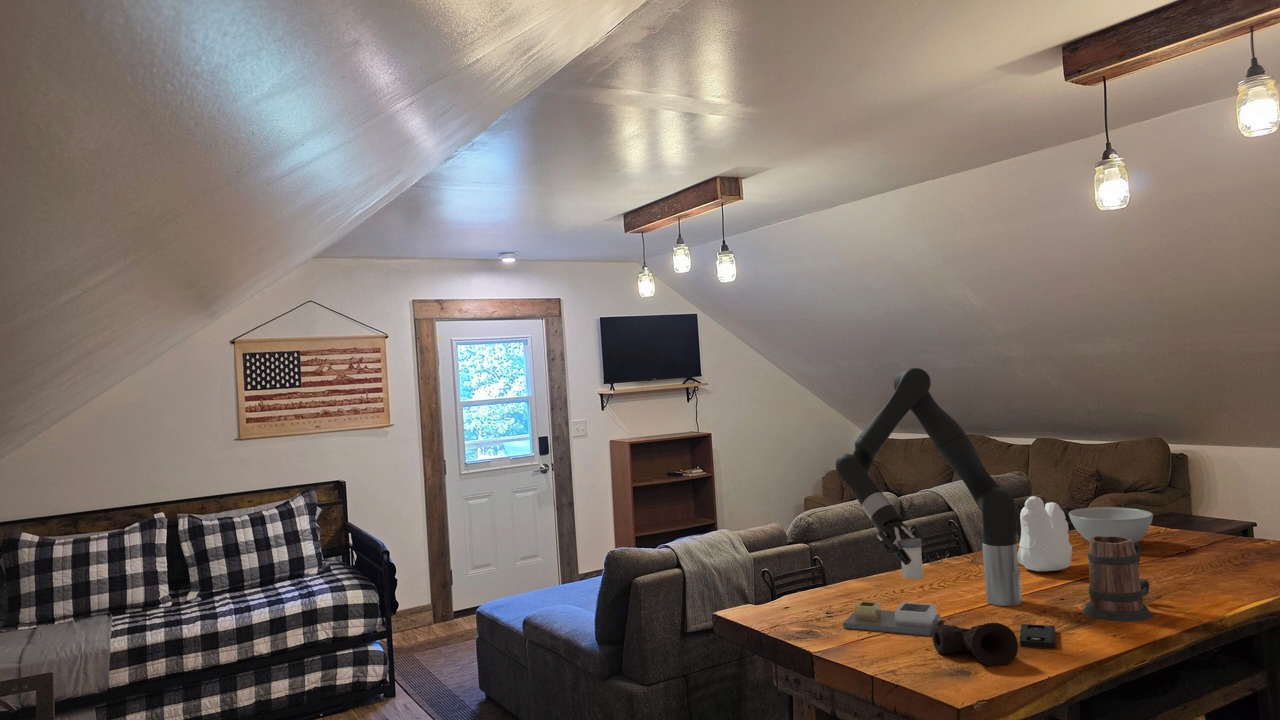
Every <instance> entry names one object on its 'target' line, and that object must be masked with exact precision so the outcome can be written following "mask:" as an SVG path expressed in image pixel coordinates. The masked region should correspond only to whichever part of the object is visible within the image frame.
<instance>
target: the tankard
mask: <svg viewBox="0 0 1280 720" xmlns="http://www.w3.org/2000/svg"><path fill="white" fill-rule="evenodd" d="M1141 554H1142V553H1141V545H1140V544H1139V543H1138V541H1137V542H1133V541H1132V540H1131V539H1129V538H1125V537H1116V536H1111V537H1102V536H1095V537H1091V538H1090V541H1089V549H1088V552H1087V560H1088V570H1089V571H1088V572H1089V573H1088V574H1089V577H1088V578H1089V586H1088V595H1089V601H1088V602H1087V603H1086V605H1085V606H1084V608H1082V610H1081V612H1082V613H1083V614H1084V615H1086V616H1088V617H1091V618H1094V619H1098V620H1102V621H1110V622H1123V623H1124V622H1125V623H1132V622H1134V623H1135V622H1142V621H1148V620H1150V619H1152V618H1153V617H1154V615H1153V613H1152V612H1151V611H1150V609H1149V608H1148V606H1147V605H1145V604H1144V601H1143V598H1144V597H1146V596H1147V595H1148V593H1149V592H1150V582H1149V581H1148V580H1147V579H1142V578H1140V571H1139V567H1140V566H1139V565H1140V560H1141V559H1140V558H1141Z"/></svg>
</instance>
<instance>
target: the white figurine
mask: <svg viewBox="0 0 1280 720" xmlns="http://www.w3.org/2000/svg"><path fill="white" fill-rule="evenodd" d="M1019 520H1020V530H1021V531H1020V541H1019V544H1018V545H1019V548H1018V549H1017V559H1018V564H1020V565H1023V566H1024V567H1025V569H1028V570H1030V571H1035V572H1052V571H1060V570H1061V571H1062V570H1065V569H1068V568H1069V567H1070V565H1071V564H1072V563H1071V562H1072V554H1073V551H1072V550H1073V546H1072V544H1071V543H1070V542H1069V541H1070V537H1069V535H1070V534H1069V533H1068V532H1069V523H1068V521H1067V520H1066V515H1065V512H1064V510H1063V509H1062V508H1061V507H1060V505H1059V504H1058V503H1056V502H1052V501H1051V502H1046V503H1045V504H1044V501H1043V499H1042V498H1040V497H1038V496H1035V495H1032V496H1029V497H1028V498H1027V499H1026V500H1025V502H1024V507H1022V509H1021V510H1020V516H1019Z"/></svg>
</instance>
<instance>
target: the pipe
mask: <svg viewBox="0 0 1280 720" xmlns="http://www.w3.org/2000/svg"><path fill="white" fill-rule="evenodd" d="M931 636H932V644H933V647H934V649H935V651H937V653H939V654H942V655H953V654H956V653H961V652H963V651H965V652H970V653H971V654H972V655H973V657H975V658H976V659H977V660H978V661H979V662H981V663H982V664H983V665H987V666H991V667H1002V666H1007V665H1009V664H1010V663H1012V661H1014V660H1015V658H1016V657H1017V654H1018V649H1019V645H1018V644H1019V643H1018V638H1017V635H1016V634H1015V632H1014V631H1013V630H1012V629H1011V628H1010V627H1009V626H1008V625H1005V624H1002V623H1000V622H986V623H984V624H983V623H982V624H978V625H976V626H975V625H974V626H971V628H964V627H958V626H957V625H950V624H942V625H937V627H935V628H933V633H932V634H931Z"/></svg>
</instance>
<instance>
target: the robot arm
mask: <svg viewBox="0 0 1280 720" xmlns="http://www.w3.org/2000/svg"><path fill="white" fill-rule="evenodd" d="M931 383H932V382H931V377H930V375H929V374H928V372H927V371H926V370H924V369H922V368H919V367H910V368H908V369H904V370H902V371H900V372H899V373H897V374H896V376H895V377H894V380H893V389H894V392H893V394H892V395H891V396H890V399H889V400H888V401H887V402H886V404H885V405H884V406H883V407H882V408H881V409H880V411H879V412H877V414H876V415H874V417H872V419H871V420H870V421H869V422H868V424H867V425H866V426H865V428H864V429H863V430H862V431H861V432H860V434H859V435H858V437H857V438H856V440H855V441H854V451H853V453H852V454H850V453H843V454H841V455H839V456H838V457H837V458H836V461H835V470H836V472H837V474H838V475H839V476H840V477H841V479H842V480H843V481H844V483H845V484H846V485H847V486H848V488H850V491H852V493H853V495H854V497H855V498H856V500H858V503H860V505H861V507H862V508H863V510H864V512H865V514H866V515H867V516H868V518H869V520H870V521H871V523H872V525H874V526H875V528H876V530H877V531H878V533H877V535H876V536H875V540H876V541H877V542H878V543H879V544H880V545H881V546H882V547H883V548H884V549H885V551H887V552H888V554H894V555H896V556H897V557H898V558H899V560H900V562H901V561H902V562H903V563H904V564H905V565H908V564H909V563H910V562H911V559H910V558H909V556H908V555H907V553H906V552H905V551H904V549H903V550H902V547H901V545H900V541H899V540H901V539H903V538H920V539H921V543H922V545H923V544H924V543H925V539H923V536H922V535H921V533H920V532H919V529H918V528H917V525H915V524H913V525H912V526H907V525H906V524H904V523H903V517H902V515H901V514H900V513H899V512H898V510H897V509H896V507H895V506H894V505H893V503H892V502H891V500H890V499H889V498H888V496H886V495H885V494H884V492H883V491H882V490H881V488H880V487H879V486H878V484H877V483H876V482H875V481H874V479H872V477H870V475H869V474H868V472H869V471H870V468H871V466H872V463H873V462H874V458H875V456H876V454H877V453H878V452H879V451H880V450H881V448H882V447H883V446H884V444H885V443H886V441H887V440H888V439H889V437H890V436H891V434H892V433H893V432H894V430H895V429H896V427H897V426H898V425H899V424H900V422H901V421H902V420H903V418H904V417H905V416H906V415H907V413H908V412H909V411H911V412H912V413H913V414H914V416H915V417H916V418H917V420H918V421H919V423H920V425H921V426H922V428H923V429H924V431H925V433H926V434H927V435H928V437H929V438H930V440H931V442H932V443H933V445H934V447H935V448H936V449H937V450H938V451H939V453H940V455H941V457H943V459H944V460H945V461H946V463H947V464H948V466H949V467H951V469H952V470H953V472H954V473H956V474H957V476H958V477H959V478H960V479H961V480H962V481H963V483H964V484H965V486H966V487H967V489H968V491H969V493H970V495H971V496H972V498H973V500H974V501H975V503H976V506H977V508H978V509H979V511H980V512H981V514H982V532H981V545H982V557H983V559H982V561H983V571H984V583H985V584H984V586H985V597H986V602H987V604H990V605H994V606H1002V607H1012V606H1020V605H1021V604H1022V600H1023V597H1022V585H1021V583H1022V582H1021V574H1020V573H1021V570H1020V567H1019V562H1018V559H1017V554H1018V549H1017V548H1018V547H1017V535H1018V521H1017V519H1018V518H1017V508H1016V501H1015V499H1014V497H1013V496H1012V495H1011V494H1010V493H1009V492H1008V491H1006V490H1005V489H1003V488H1002V487H1001V486H1000V485H999V484H998V483H997V482H996V481H995V480H994V478H993V477H992V476H991V474H990V473H989V472H988V471H987V469H986V468H985V466H984V464H983V462H982V460H981V458H980V455H979V452H977V451H978V450H976V448H975V445H974V443H972V440H971V439H970V438H969V436H968V434H967V433H966V432H965V431H964V429H963V428H962V427H961V426H960V425H959V423H958V422H957V421H956V420H955V419H954V418H953V417H952V416H950V415H949V414H948V413H947V412H946V411H945V410H944V409H942V408H941V407H940V405H938V403H937V402H936V401H935V399H934V398H933V396H932V394H931V393H930V389H931V386H932V385H931ZM921 553H922V562H925V561H926V560H927V559H928V555H927V553H926V551H925V550H924V549H923V548H922V547H921Z"/></svg>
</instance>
